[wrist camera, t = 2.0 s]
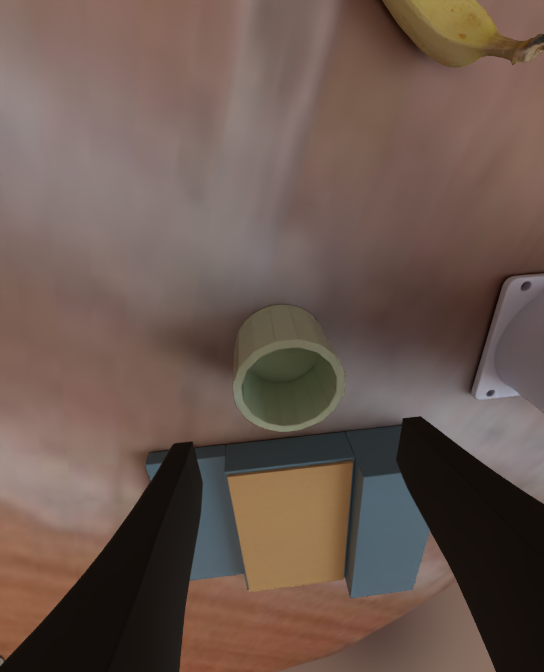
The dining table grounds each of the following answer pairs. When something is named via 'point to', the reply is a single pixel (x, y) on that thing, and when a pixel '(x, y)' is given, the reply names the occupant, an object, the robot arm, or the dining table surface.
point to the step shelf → (308, 513)
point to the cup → (285, 370)
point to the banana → (458, 32)
